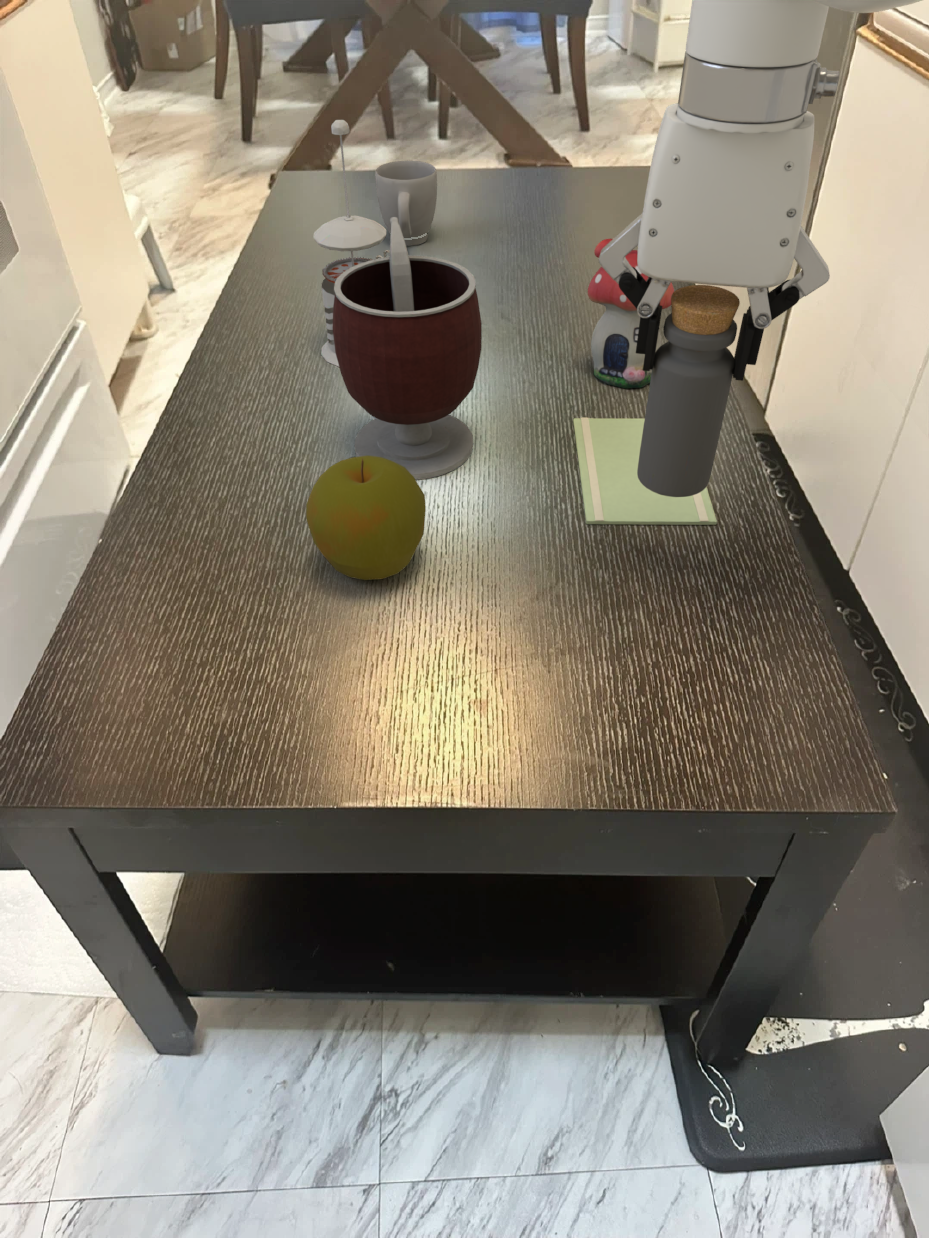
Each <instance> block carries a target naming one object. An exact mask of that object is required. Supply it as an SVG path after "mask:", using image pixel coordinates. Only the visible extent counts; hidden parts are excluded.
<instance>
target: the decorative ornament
mask: <svg viewBox="0 0 929 1238" xmlns="http://www.w3.org/2000/svg"><path fill="white" fill-rule="evenodd" d="M612 239H613V238H605V239H602V240H601V241H599V242H598V243H597V245H596V246H595V248H594V251H593V253H594V256H595V257H596V258H598V259H599V256H600V252H601V250H602V249H603V248H604V247H605V246H606V245H607V244H608V243H609V242H610V241H611V240H612ZM637 255H638V249H633V250H632V251H631V252H630V253H628V254H627V255H626V256H625V258H626V260H627V261H628V262H629V264H630V265H631V266H632V267H634V268H635V269H636V270H637V271H638V272H639V273H640V274H641V276H642V277H643V278H644V279H645V281H647V279H648V276H646V275H645V274H643V273H642V272H641V271H640V270H639V268H638V263H637ZM672 282H673V281H671V283H670V285H669V287H668V288H667V290H666V292H665V294H664V295H663V297H662V299H661V301H660V306H662V310H666V309H668V308H669V307H671V296H672V294H673V292H674V291H675V288H674V285H673V283H672ZM587 296H588V299H589V300H590V301H591V303H595V304H597V305H598V304H599V305H602V306H603V307H605V311H604V312H603V314H602V315H601V317H600V318H599V319H598V321H597V322H596V325H595V327H594V329H593V332H592V334H591V335H592V336H591V341H590V350H591V356H592V360H593V361H592V362H593V376H594V377H595V378H597V379H598V380H600V382H603V383H604V384H606V385H609V386H613V387H617V388H621V389H627V390H628V389H639V388H641V389H642V388H643V387H645V386H647V385H650V380H651V374H652V370H651V369H650V371H643V365H644V358H645V354H637V353H636V346H637V339H638V331H639V324H640V316H639V315H638V314H637V309H636V307H635V306H634V305H633V304H632V303H631V301H630V300H629V299H628V298H627V297H626V296H625V294H624V293H623V292H622V291H621V290H620V288H619V285H618V283H617V282H616V281H615V280H613V279H612V278H611V277H610V275H609V274H608V273H607V272H606V271H605V270H604V269H603V268H602V266H601V265H600V267H599V268H598V270H597V271H596V272H595V274H594V275H593V277H592V279H590V282H589V284H588V286H587ZM660 346H662V334H661V332H660V330H659V332H658V339H657V346H656V351H657V349H658V348H659V347H660ZM655 353H656V352H655Z"/></svg>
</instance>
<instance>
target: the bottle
mask: <svg viewBox="0 0 929 1238" xmlns="http://www.w3.org/2000/svg"><path fill="white" fill-rule="evenodd" d="M740 302H741V301H740V298H739V297H738V296H737V294H735V293H734V292H732V291H731V290H728V289H726V288H723V287H719V286H716V285H707V284H691V285H687V286H686V285H685V286H682V287H680V288H679V287H678V288H677V289H676V290H674V292H673V294H672V296H671V306H670V307H671V313H670V314H668V315H667V316H666V318H665V320H664V323H663V331H662V332H663V336H664V338H665V339H666V340H667V341H666V342H664V343H663V344H661V346H660V347H659V348H658V349H657V351H656V353H655V358H654V364H653V370H652V374H651V380H650V383H649V388H648V395H647V401H646V408H645V415H644V419H645V420H644V427H643V434H642V440H641V447H640V454H639V462H638V469H637V475H638V479H639V481H640V482H641V483H642V485H644V486H645V487H646V488H647V489H649V490H651V491H652V492H655V493H657V494H660V495H664V496H670V497H687V496H692V495H695V494H698V493H700V492H701V491H703V490H704V489H705V488H706V487H708V485H709V482H710V479H711V475H712V471H713V468H714V467H713V466H714V464H715V463H714V462H715V458H716V455H717V448H718V444H719V439H720V435H721V431H722V426H723V422H724V418H725V413H726V409H727V404H728V399H729V394H730V390H731V385H732V380H733V370H734V364H735V360H734V355H733V353H732V352H731V351H730V350H729V349H728V347H731V345H733V343H734V342H735V341H736V337H737V332H738V324H737V322H736V321H735V320H734V319H735V316H736V314H737V311H738V310H739V307H740V304H741V303H740Z"/></svg>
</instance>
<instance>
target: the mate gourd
mask: <svg viewBox="0 0 929 1238" xmlns="http://www.w3.org/2000/svg"><path fill="white" fill-rule="evenodd" d="M390 224H391V236H390V238H389V251H390V254H389V256H386V257H385V258H384V257H383V258H378V259H376V258H375V259H374V258H373V260H370V261H367V262H364V263H361V264H358V265H356V266H353V267H351V268H350V269H348V270H346V271H345V272H343V273H342V274H341V275H340V276H339V277H338V278H337V280H336V282H335V285H334V292H335V297H334V305H333V336H334V345H335V353H336V357H337V360H338V364H339V371H340V374H341V378H342V381H343V383H344V385H345V388H346V390H347V393H348V395H350V397H351V398H352V399H353V400H354V401H355V402H356V403H357V404H358V405H359V406H360V407H361V408H362V409H364V410H365V412H367V413H368V414H369V415H370V416H372V417H373V418H374V419H371V420H370V421H368V422H367V423H366V424H365V425H363V426H362V427H361V428H360V429H359V431H358V432H357V433H356V436H355V438H354V453H355V457H360V456H376V457H382V458H385V459H388V460H391V461H393V462H395V463H397V464H399V465H401V466H403V467H405V468H406V469H407V470H408V471H409V472H410V474H411V475H412V476H413V477H414V478H415V480H416V481H417V480H425V479H432V478H436V477H439V476H443V475H446V474H449V473H451V472H453V471H455V470H457V469H458V468H460V467H461V466H462V465H464V464H465V462H467V461H468V460H469V459H470V457H471V455H472V453H473V450H474V436H473V433H472V431H471V429H470V427H469V426H467V424H466V423H464V421H462V420H460V419H459V418H457V417H456V416H453V415H451V414H452V413H453V412H454V411H456V409H457V408H458V407H459V406H460V405H461V404H462V403H463V401H465V399H466V398H467V397H468V395H469V394H470V393H471V391H472V390H473V388H474V386H475V383H476V378H477V375H478V370H479V365H480V359H481V353H482V335H483V334H482V328H483V327H482V325H483V324H482V318H481V310H480V304H479V297H478V292H477V289H476V287H477V286H476V285H477V284H476V283H477V282H476V278H475V276H474V275H473V273H472V272H471V271H470V270H469V269H467V268H466V267H464V266H463V265H460V264H459V263H457V262H454V261H451V260H448V259H444V258H439V257H434V256H433V257H432V256H426V255H409V251H408V248H407V247H408V246H406V244H405V240H404V237H403V234H402V231H401V228H400V226H399V221H398V218H397V217H392V218H391V219H390Z"/></svg>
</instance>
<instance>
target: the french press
mask: <svg viewBox="0 0 929 1238" xmlns="http://www.w3.org/2000/svg"><path fill="white" fill-rule="evenodd" d="M330 129H331V130H330V131H331V134H332V135H334V136H339V141H340V143H339V144H340V150H341V151H340V152H341V164H342V172H343V173H342V174H343V184H344V194H345V204H346V205H345V207H346V214H347V215H341V216H339V217H336V218H334V219H331V220H329V221H326V222H324V223H323V224H321V225H320V226H319V227H318V228H317V229H316V230H314V232H313V240H314V241H315V242H316V243H317V245H319V246H320V247H321V248H323V249H325V250H326V249H327V250H329V251H336V252H350V256H349V257H346V258H340V259H336V260H333V261H331V262H330V263H327V264H326V265H325V266H324V267H323V268H322V277H323V278H324V279H322V281H321V295H322V304H323V307H324V318H325V327H326V336H327V340H326V342H325V343H324V344H323V345H322V346H321V353H320V356H321V357H322V358H323V359H324V361H326V362H327V363H330V364H331V365H333V366H336V367H339V364H338V360H337V357H336V353H335V345H334V336H333V305H334V297H335V292H334V285H335V282H336V280H337V278H338V277H339V276H340V275H341V274H342V273H343V272H345V271H346V270H348V269H350V268H351V267H353V266H356V265H358V264H361V263H364V262H367V261H370V260H374V258H369V257H368V258H367V257H364V256H363V257H361V256H360V257H359V256H357V257H356V256H354V252H358V251H363V250H364V251H365V250H369V249H371V248H374V247H376V246H379V245H380V244H381V243H382V242H383V241H384V240H385V238H386V236H387V228H385V227H384V226H383V225H382V224H380V223H379V222H378V221H375V220H373V219H370V218H366V217H363V216H360V215H350V208H349V207H350V206H349V197H348V188H347V186H348V185H347V177H346V167H345V156H344V155H345V154H344V145H343V135H348V134H350V133H351V132H350V131H351V130H350V126H349V124H348V122H347V121H346V120H344V119H335V120H334V121H333V123H331V128H330ZM387 254H389V255H390V249H385V250H384V251H383V256H382V255H381V254H379V255H376V256H375V259H380V258H385V257H387Z"/></svg>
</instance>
